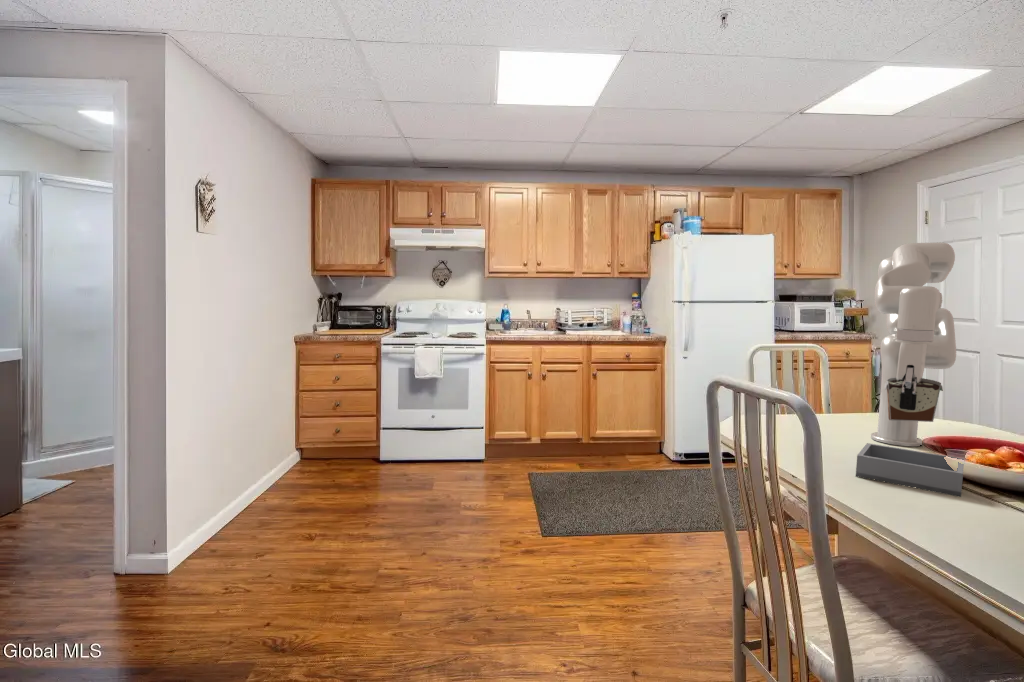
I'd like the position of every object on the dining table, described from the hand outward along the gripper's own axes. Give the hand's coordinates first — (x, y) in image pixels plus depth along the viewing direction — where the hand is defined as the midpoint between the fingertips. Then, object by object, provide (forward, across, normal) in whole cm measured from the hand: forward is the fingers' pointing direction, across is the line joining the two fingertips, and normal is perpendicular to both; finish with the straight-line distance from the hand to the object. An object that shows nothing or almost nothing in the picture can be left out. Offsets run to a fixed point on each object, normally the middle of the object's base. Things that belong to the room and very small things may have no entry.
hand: (908, 406), depth 139 cm
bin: (+14, +16, +2) cm, 21 cm away
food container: (+3, -1, 0) cm, 4 cm away
